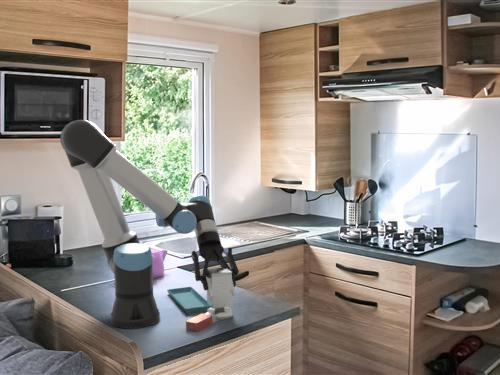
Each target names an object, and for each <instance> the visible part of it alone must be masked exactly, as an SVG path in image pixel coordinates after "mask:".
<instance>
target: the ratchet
mask: <svg viewBox="0 0 500 375" xmlns="http://www.w3.org/2000/svg"><path fill="white" fill-rule="evenodd" d="M232 318H233V309H232V308H231V306H230V307H222V308H214V309H212V308H209V309H208V310H207V311H206V313H200V314H198V315H196V316H194V317H192V318H189V319H188V320H185V330H186V331H192V332H198V333H199V331H201V330H203V329H205V328H207V327H209V326H211V325H212V324H213V323H216V322H217V321H226V320H229V319H232Z"/></svg>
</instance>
